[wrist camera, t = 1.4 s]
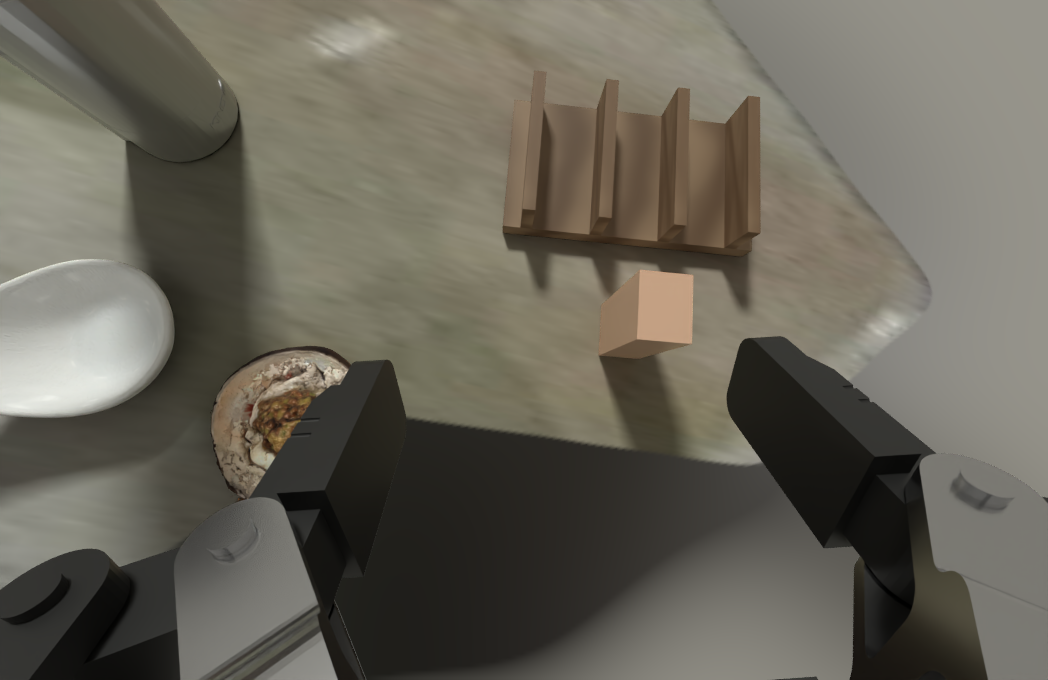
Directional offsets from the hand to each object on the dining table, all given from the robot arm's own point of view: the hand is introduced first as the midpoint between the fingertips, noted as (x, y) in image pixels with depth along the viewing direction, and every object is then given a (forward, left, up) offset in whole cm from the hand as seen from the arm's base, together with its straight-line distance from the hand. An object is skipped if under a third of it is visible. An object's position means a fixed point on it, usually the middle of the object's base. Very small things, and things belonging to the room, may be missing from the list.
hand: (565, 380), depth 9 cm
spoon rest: (-38, -1, -26) cm, 46 cm away
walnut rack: (+8, +20, -25) cm, 33 cm away
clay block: (+8, +6, -25) cm, 27 cm away
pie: (-18, -4, -26) cm, 31 cm away
